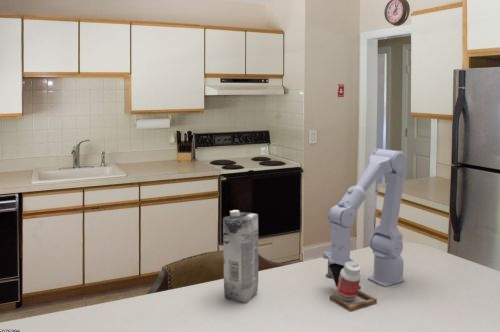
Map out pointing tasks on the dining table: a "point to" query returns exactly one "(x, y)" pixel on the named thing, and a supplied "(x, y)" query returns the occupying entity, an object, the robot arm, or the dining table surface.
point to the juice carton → (240, 255)
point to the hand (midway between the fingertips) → (339, 286)
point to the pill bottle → (348, 281)
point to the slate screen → (332, 274)
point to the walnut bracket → (356, 306)
